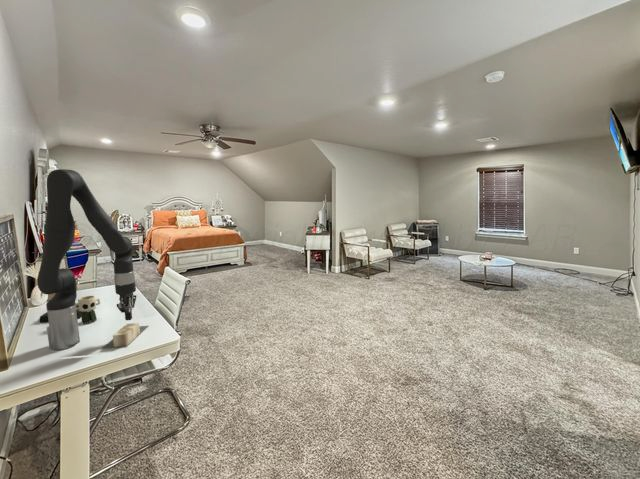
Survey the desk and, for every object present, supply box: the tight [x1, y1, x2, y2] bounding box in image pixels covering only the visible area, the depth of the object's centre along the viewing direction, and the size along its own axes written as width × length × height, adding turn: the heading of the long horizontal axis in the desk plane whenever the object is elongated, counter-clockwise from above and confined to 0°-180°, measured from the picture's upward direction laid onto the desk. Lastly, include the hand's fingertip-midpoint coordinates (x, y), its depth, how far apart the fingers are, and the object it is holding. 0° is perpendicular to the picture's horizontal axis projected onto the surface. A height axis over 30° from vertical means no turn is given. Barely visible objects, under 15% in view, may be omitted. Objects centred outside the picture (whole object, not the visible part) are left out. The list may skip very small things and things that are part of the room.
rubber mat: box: [100, 325, 149, 350], centre depth 134 cm, size 10×22×1 cm, turn 7°
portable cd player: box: [38, 305, 83, 324], centre depth 162 cm, size 16×17×4 cm
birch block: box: [112, 322, 141, 347], centre depth 131 cm, size 5×5×12 cm
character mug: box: [75, 295, 101, 324], centre depth 152 cm, size 11×7×13 cm, turn 141°
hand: (128, 319), depth 132 cm, fingers closed
